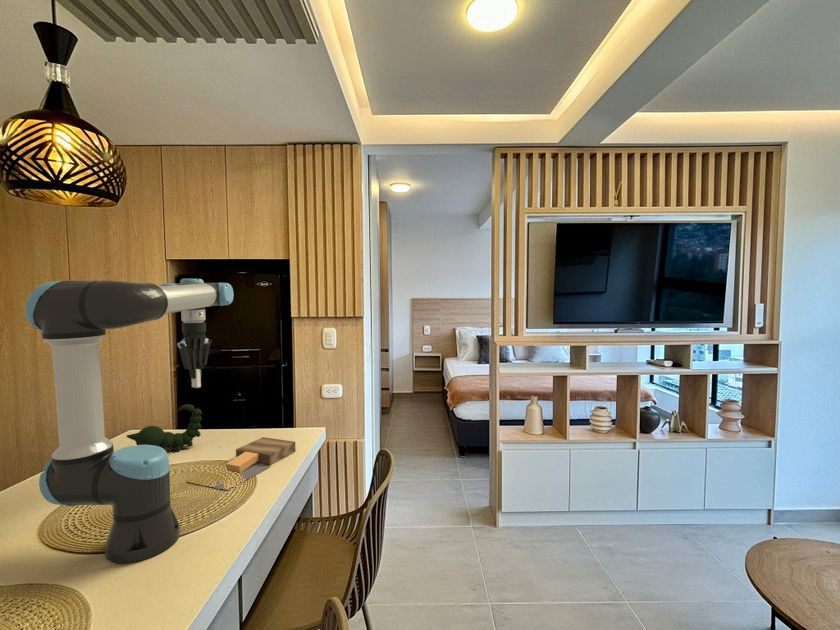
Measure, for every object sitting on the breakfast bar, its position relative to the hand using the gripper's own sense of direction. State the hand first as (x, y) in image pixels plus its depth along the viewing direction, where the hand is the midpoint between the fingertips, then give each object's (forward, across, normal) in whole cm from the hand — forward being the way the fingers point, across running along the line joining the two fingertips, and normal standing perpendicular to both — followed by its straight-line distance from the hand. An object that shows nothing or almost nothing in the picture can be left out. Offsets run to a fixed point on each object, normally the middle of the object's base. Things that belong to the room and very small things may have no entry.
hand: (196, 386), depth 147 cm
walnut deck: (+29, +15, -17) cm, 37 cm away
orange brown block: (+28, +3, -18) cm, 33 cm away
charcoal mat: (+28, -3, -18) cm, 34 cm away
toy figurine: (+29, +4, +24) cm, 37 cm away
